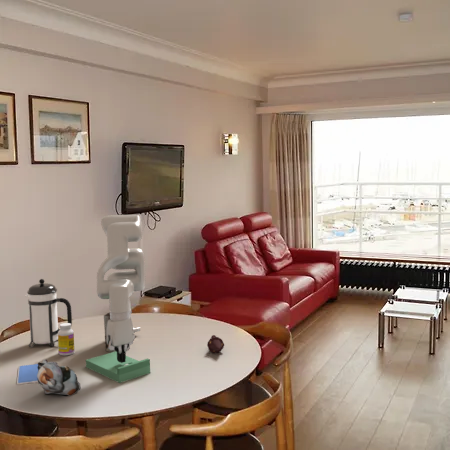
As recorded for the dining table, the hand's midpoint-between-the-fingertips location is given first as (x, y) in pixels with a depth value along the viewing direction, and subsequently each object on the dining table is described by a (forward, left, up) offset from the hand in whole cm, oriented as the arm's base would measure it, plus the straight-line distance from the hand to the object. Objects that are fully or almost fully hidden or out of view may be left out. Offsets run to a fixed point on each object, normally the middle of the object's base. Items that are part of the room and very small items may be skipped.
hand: (121, 361), depth 219 cm
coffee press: (+3, -55, -4) cm, 55 cm away
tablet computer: (+25, -23, -5) cm, 34 cm away
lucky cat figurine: (+27, 0, -4) cm, 27 cm away
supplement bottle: (+4, -36, -4) cm, 37 cm away
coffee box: (-14, -24, -4) cm, 28 cm away
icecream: (-41, +10, -4) cm, 43 cm away
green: (0, -3, -4) cm, 5 cm away
